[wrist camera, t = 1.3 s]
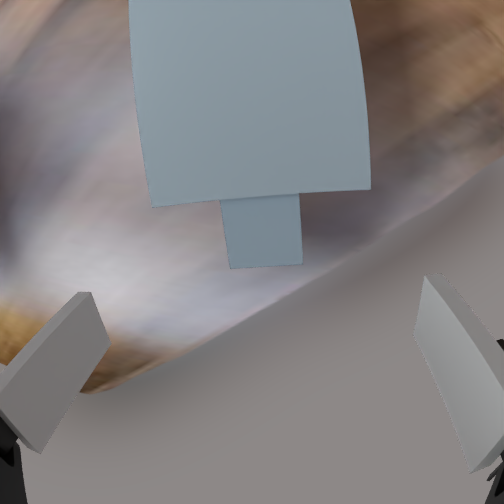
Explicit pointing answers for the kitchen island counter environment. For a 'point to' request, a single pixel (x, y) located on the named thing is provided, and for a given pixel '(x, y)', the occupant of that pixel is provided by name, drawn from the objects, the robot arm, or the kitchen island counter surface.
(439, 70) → the kitchen island counter surface
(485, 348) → the robot arm
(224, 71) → the lid
